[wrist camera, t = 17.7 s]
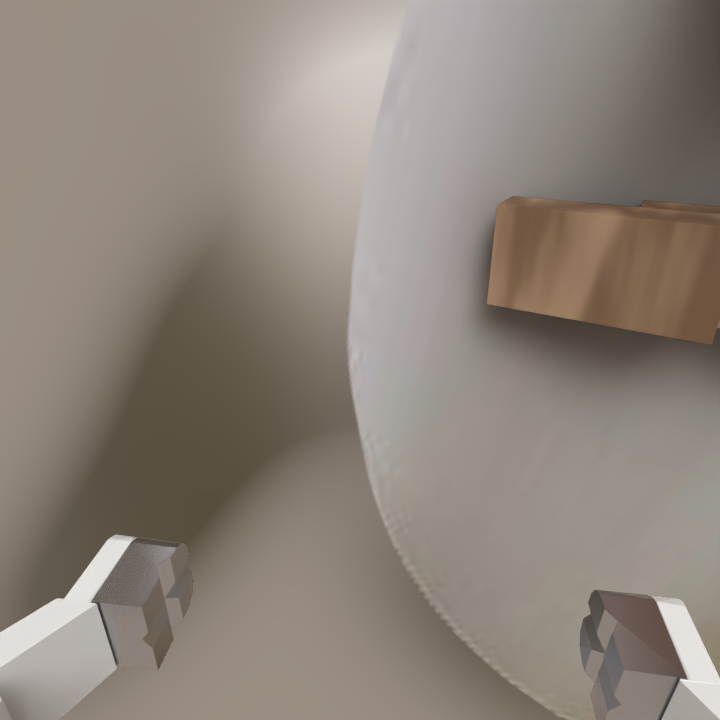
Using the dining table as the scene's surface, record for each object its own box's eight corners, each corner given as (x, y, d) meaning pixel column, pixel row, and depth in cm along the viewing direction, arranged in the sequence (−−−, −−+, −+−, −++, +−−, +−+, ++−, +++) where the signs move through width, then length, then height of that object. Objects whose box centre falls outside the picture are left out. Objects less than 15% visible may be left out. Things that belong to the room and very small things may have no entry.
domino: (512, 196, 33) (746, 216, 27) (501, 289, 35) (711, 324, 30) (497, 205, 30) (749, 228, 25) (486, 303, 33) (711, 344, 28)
